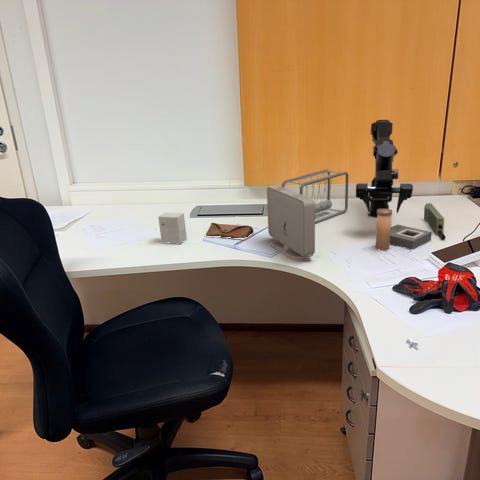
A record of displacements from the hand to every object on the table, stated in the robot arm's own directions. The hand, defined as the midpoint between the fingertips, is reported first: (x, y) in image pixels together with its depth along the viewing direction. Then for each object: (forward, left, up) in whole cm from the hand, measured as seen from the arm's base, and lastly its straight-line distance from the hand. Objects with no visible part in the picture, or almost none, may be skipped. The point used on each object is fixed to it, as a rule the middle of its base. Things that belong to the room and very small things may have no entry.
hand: (383, 212), depth 152 cm
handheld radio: (+7, +23, -11) cm, 26 cm away
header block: (+6, +5, -10) cm, 13 cm away
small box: (-56, -50, -10) cm, 76 cm away
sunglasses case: (-46, -32, -11) cm, 57 cm away
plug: (+4, -6, -10) cm, 13 cm away
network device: (-18, -27, -10) cm, 34 cm away
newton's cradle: (-35, +6, -11) cm, 37 cm away
